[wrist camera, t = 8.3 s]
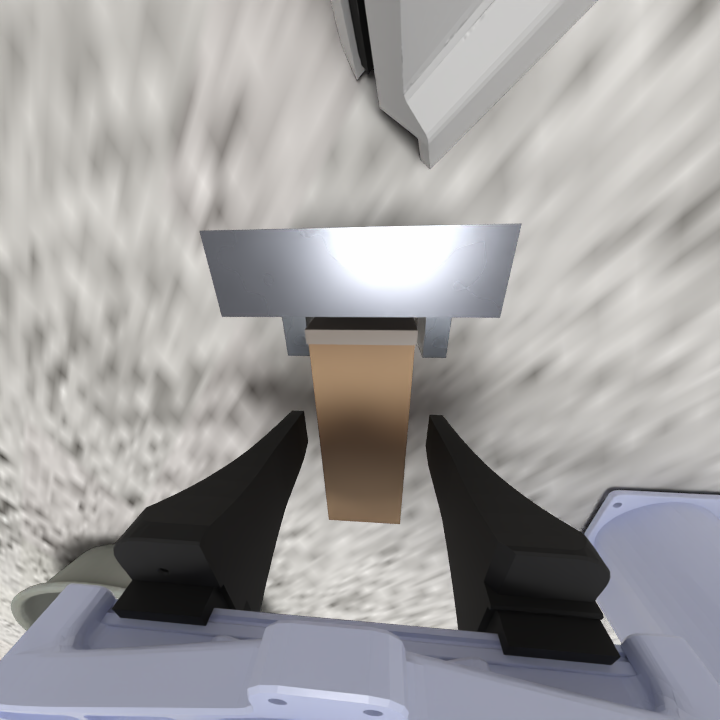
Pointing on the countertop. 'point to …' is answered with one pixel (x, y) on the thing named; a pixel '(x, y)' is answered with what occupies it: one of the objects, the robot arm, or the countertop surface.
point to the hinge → (448, 56)
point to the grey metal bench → (363, 275)
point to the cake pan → (86, 569)
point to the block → (363, 411)
